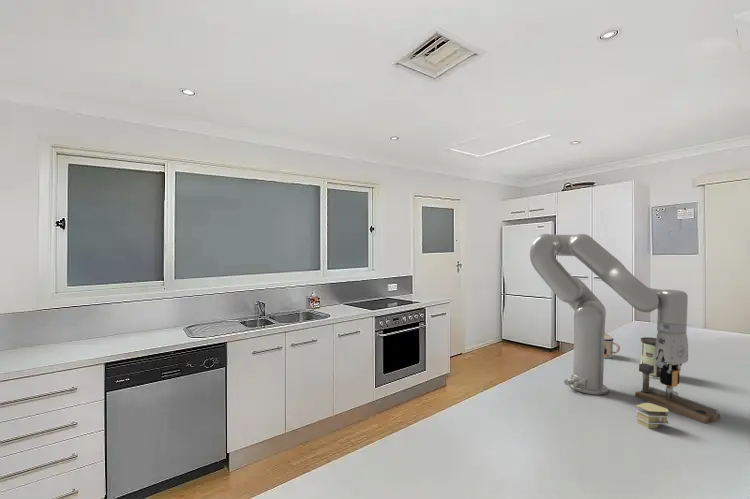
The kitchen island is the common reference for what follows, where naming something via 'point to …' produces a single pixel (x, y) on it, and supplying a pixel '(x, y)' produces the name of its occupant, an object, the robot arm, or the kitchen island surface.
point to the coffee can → (649, 355)
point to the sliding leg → (669, 389)
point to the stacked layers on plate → (651, 415)
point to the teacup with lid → (609, 346)
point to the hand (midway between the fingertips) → (669, 383)
